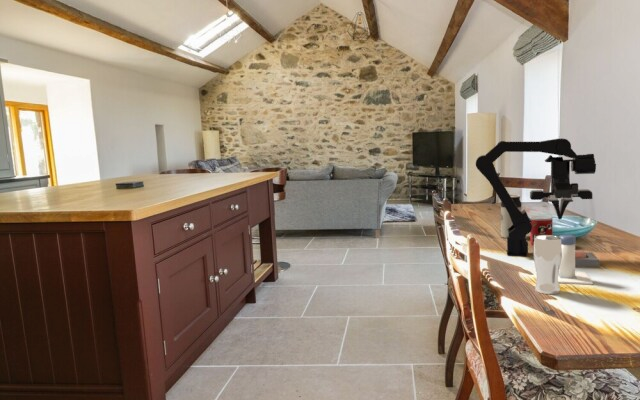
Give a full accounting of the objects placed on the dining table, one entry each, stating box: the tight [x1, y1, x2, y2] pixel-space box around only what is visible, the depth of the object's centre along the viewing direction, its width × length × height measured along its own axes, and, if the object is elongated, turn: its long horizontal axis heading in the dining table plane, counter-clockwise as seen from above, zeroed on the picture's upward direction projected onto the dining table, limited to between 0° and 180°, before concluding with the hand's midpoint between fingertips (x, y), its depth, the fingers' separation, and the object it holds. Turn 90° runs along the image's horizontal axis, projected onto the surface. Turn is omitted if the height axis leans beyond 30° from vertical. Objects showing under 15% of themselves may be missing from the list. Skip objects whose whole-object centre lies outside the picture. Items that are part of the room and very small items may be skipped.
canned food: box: [530, 215, 553, 246], centre depth 173 cm, size 8×8×11 cm
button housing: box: [575, 251, 600, 269], centre depth 147 cm, size 10×10×2 cm
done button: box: [575, 250, 587, 258], centre depth 147 cm, size 4×4×3 cm
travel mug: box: [500, 193, 522, 239], centre depth 189 cm, size 8×8×18 cm
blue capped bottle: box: [558, 234, 577, 278], centre depth 132 cm, size 4×4×12 cm
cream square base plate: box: [558, 270, 594, 286], centre depth 132 cm, size 11×11×1 cm
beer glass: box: [532, 234, 562, 295], centre depth 122 cm, size 7×7×15 cm
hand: (559, 219), depth 156 cm, fingers closed
